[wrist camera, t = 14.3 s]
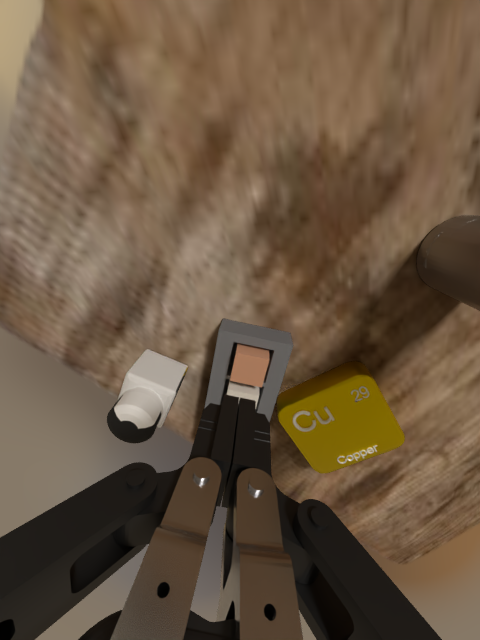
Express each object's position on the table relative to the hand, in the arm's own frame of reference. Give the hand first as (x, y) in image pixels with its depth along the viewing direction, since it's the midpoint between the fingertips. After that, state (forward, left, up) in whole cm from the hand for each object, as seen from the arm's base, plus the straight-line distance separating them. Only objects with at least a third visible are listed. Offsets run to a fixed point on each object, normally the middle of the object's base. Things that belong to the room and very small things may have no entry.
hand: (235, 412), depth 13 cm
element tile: (-18, +19, -28) cm, 38 cm away
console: (-2, +17, -27) cm, 32 cm away
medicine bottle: (+11, +19, -27) cm, 35 cm away
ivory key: (-2, +17, -25) cm, 30 cm away
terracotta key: (-2, +11, -25) cm, 27 cm away
